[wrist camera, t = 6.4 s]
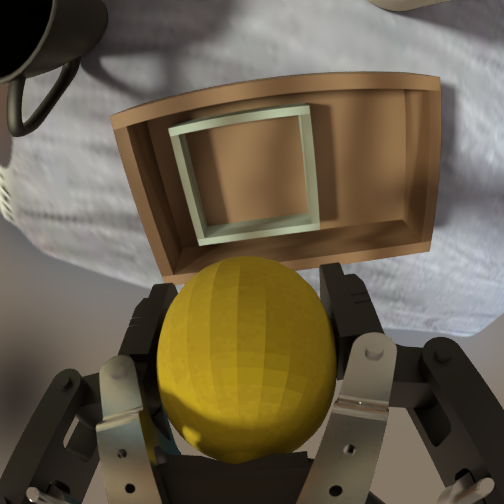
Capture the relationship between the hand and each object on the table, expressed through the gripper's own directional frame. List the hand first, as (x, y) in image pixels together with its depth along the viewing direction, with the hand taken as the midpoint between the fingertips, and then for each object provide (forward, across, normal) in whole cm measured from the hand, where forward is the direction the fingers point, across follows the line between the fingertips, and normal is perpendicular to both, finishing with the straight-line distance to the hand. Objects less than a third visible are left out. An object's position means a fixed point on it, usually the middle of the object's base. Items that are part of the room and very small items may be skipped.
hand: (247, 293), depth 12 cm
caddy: (+15, -3, 0) cm, 15 cm away
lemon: (+1, 0, 0) cm, 1 cm away
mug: (+15, +12, -14) cm, 24 cm away
